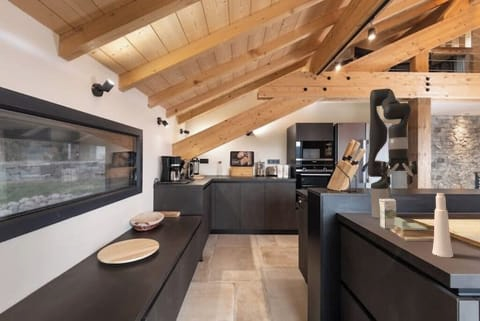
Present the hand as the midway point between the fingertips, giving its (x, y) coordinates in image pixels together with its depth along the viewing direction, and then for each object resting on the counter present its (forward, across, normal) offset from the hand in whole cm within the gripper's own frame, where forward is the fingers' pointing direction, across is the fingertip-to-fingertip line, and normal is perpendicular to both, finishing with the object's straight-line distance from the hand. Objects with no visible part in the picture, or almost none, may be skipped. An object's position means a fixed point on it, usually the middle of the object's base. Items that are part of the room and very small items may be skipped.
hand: (399, 184), depth 116 cm
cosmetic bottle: (+23, -4, +22) cm, 32 cm away
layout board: (+23, -8, -2) cm, 25 cm away
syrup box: (+24, -1, -16) cm, 29 cm away
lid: (+20, -5, -2) cm, 20 cm away
